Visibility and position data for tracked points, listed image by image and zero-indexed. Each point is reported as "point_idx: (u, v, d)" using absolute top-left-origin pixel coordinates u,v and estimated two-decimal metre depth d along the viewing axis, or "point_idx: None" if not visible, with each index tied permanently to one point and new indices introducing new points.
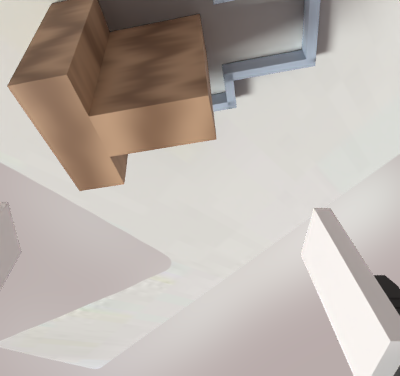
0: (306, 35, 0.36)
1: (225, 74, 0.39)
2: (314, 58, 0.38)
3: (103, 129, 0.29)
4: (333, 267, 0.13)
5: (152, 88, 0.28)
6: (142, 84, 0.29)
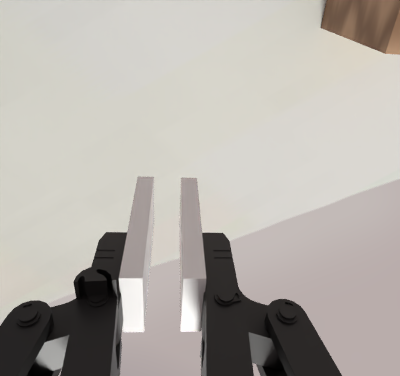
0: None
1: None
2: None
3: None
4: (181, 226, 0.15)
5: None
6: None
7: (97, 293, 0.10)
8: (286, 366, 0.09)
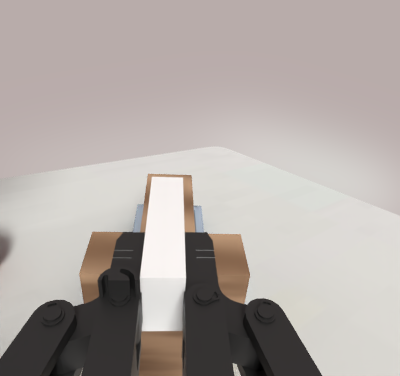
0: None
1: None
2: (195, 206, 0.53)
3: None
4: None
5: None
6: None
7: (120, 292, 0.11)
8: (265, 366, 0.09)
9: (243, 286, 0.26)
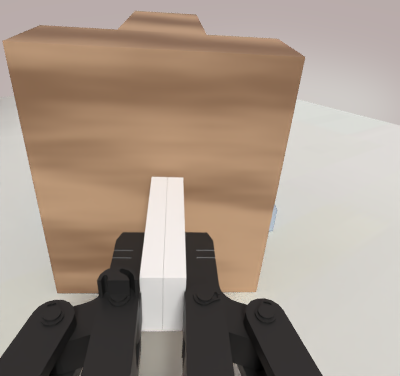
0: None
1: None
2: None
3: (147, 29, 0.18)
4: None
5: None
6: None
7: (119, 292, 0.11)
8: (266, 366, 0.09)
9: (292, 86, 0.15)
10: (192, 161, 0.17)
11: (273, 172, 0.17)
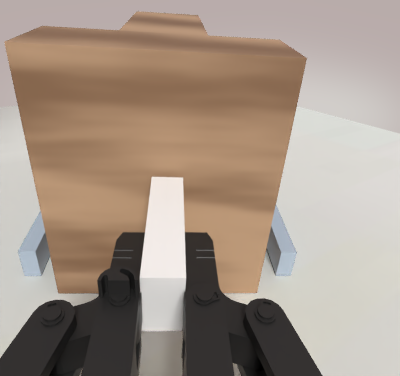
0: None
1: None
2: None
3: (148, 30, 0.18)
4: None
5: None
6: None
7: (119, 292, 0.11)
8: (265, 366, 0.09)
9: (293, 87, 0.15)
10: (193, 162, 0.17)
11: (274, 173, 0.17)
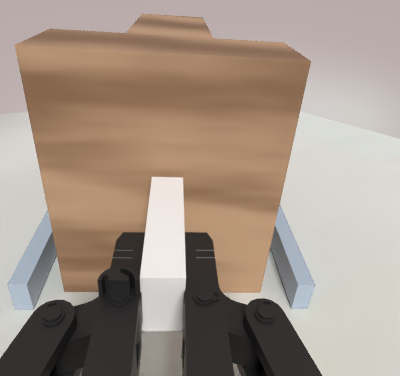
0: None
1: None
2: None
3: (154, 32, 0.19)
4: None
5: None
6: None
7: (120, 292, 0.11)
8: (265, 366, 0.09)
9: (297, 89, 0.15)
10: (198, 163, 0.17)
11: (278, 174, 0.18)
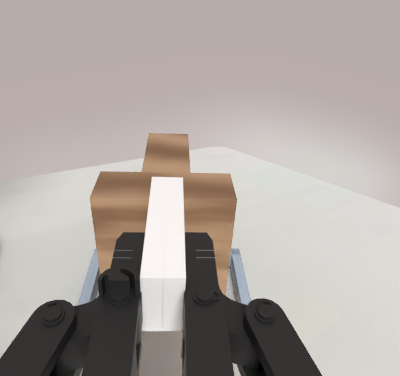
0: None
1: None
2: None
3: (157, 169, 0.33)
4: None
5: None
6: None
7: (119, 292, 0.11)
8: (265, 366, 0.09)
9: (231, 211, 0.30)
10: None
11: (226, 250, 0.32)
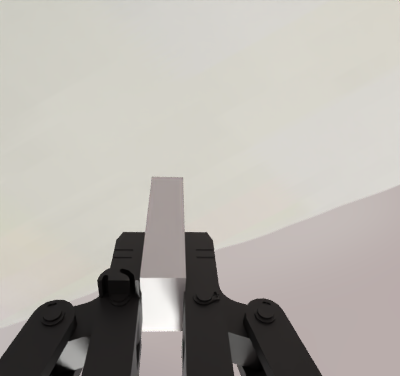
0: None
1: None
2: None
3: None
4: None
5: None
6: None
7: (120, 292, 0.11)
8: (265, 366, 0.09)
9: None
10: None
11: None
